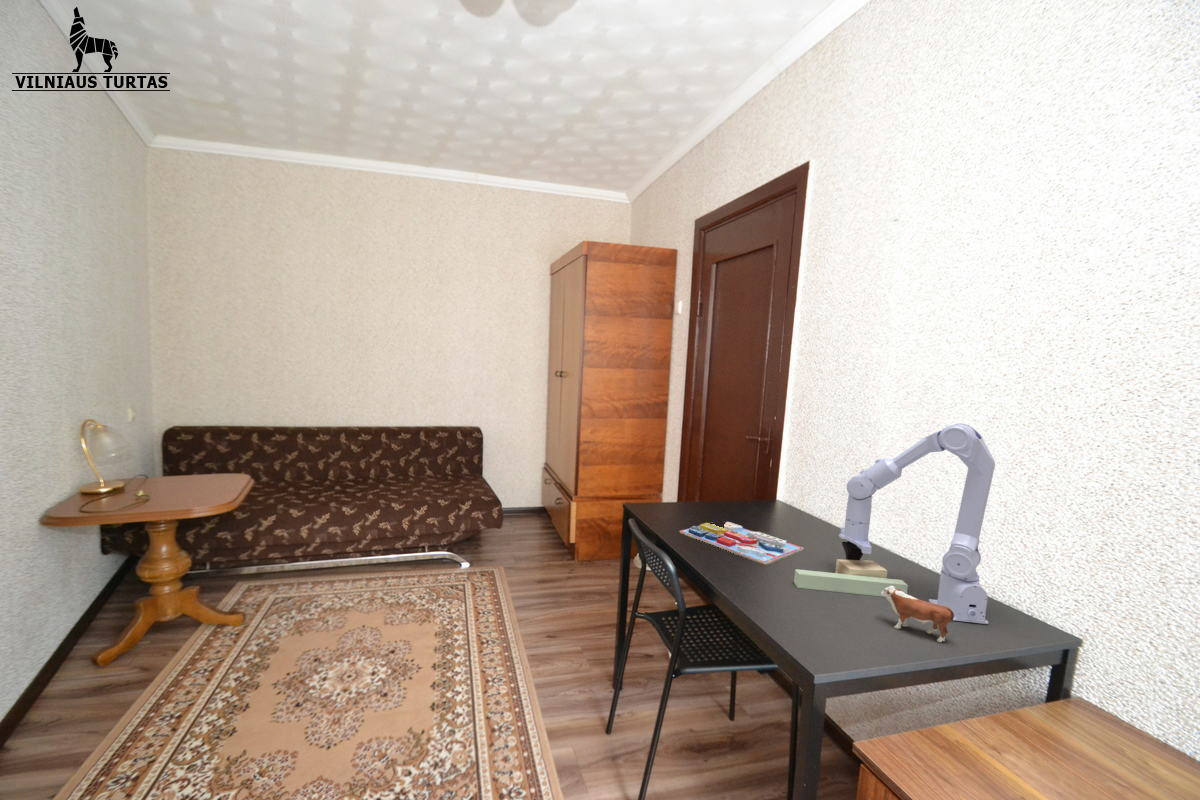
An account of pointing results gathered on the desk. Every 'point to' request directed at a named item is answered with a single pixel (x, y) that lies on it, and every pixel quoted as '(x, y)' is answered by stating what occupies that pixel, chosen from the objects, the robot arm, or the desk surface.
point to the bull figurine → (918, 611)
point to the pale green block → (845, 583)
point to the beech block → (860, 568)
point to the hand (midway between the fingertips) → (851, 570)
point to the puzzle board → (744, 542)
